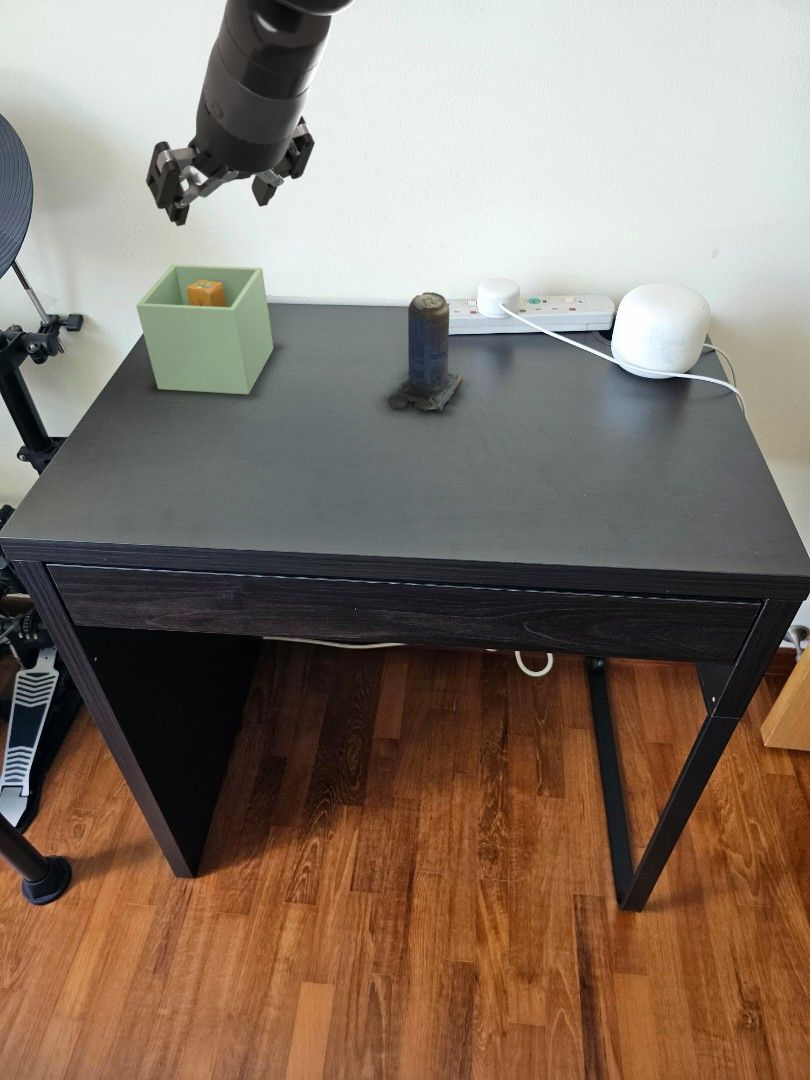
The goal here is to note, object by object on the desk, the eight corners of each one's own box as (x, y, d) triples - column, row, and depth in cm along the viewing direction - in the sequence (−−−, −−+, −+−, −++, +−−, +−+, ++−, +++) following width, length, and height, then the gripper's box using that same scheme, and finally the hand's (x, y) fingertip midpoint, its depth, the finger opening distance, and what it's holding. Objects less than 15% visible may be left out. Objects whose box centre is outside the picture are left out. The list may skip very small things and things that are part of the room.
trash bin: (248, 394, 93) (234, 309, 86) (157, 389, 94) (135, 305, 87) (273, 348, 101) (262, 267, 94) (189, 344, 102) (172, 264, 95)
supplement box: (238, 359, 98) (224, 281, 91) (222, 372, 95) (207, 293, 89) (216, 354, 99) (200, 276, 92) (199, 367, 96) (183, 288, 90)
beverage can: (451, 417, 88) (454, 317, 80) (384, 410, 90) (381, 310, 82) (464, 376, 95) (468, 280, 87) (402, 370, 96) (400, 274, 88)
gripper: (314, 38, 64) (268, 156, 78) (144, 63, 58) (129, 185, 72) (353, 125, 64) (299, 226, 79) (187, 158, 58) (163, 261, 73)
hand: (218, 206), depth 76 cm, fingers open, 8 cm apart
